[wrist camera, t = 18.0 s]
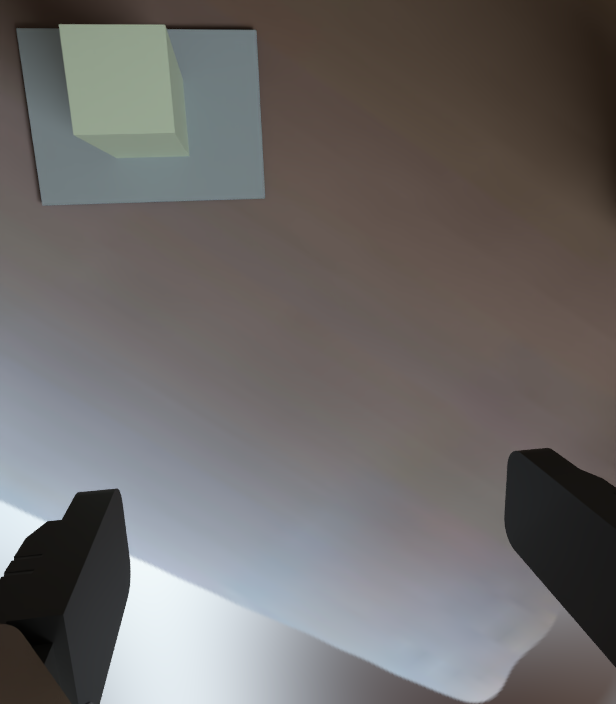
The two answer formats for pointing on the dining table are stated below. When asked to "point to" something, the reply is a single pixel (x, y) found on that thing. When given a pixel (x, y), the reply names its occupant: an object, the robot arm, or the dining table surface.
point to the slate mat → (153, 172)
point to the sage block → (125, 89)
